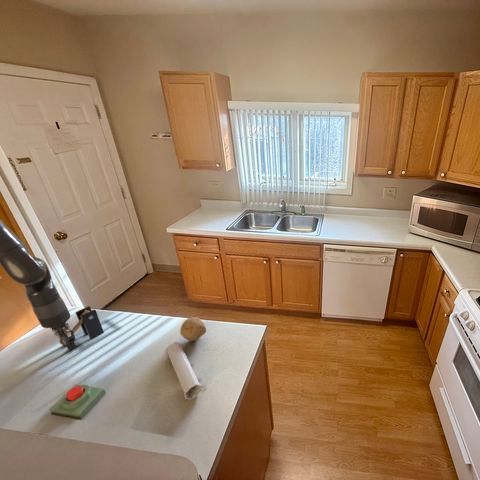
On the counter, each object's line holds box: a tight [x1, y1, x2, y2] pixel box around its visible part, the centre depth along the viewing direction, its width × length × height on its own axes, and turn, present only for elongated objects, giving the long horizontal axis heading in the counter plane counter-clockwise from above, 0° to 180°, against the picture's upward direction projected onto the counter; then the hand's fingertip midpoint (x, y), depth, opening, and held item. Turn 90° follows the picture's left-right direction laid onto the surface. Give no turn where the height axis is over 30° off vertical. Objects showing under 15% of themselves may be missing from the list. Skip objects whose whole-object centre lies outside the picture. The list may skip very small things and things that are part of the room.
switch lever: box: [59, 310, 90, 346], centre depth 96 cm, size 13×3×3 cm
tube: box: [166, 341, 203, 401], centre depth 90 cm, size 5×5×25 cm
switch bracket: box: [75, 305, 105, 340], centre depth 100 cm, size 12×10×13 cm
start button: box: [65, 386, 84, 401], centre depth 77 cm, size 4×4×2 cm
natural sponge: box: [179, 316, 207, 342], centre depth 103 cm, size 9×9×10 cm
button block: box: [48, 383, 107, 420], centre depth 78 cm, size 10×8×4 cm
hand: (70, 346), depth 96 cm, fingers closed on switch lever, 3 cm apart
